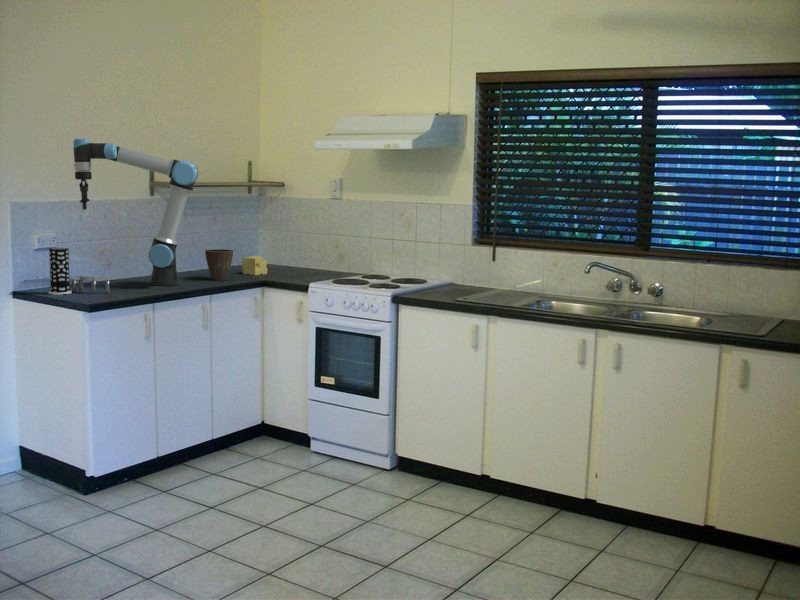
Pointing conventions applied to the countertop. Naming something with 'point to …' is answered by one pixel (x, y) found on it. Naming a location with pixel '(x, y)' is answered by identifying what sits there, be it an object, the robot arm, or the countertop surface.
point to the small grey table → (93, 279)
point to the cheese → (254, 265)
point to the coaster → (60, 293)
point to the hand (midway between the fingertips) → (85, 215)
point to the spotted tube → (59, 270)
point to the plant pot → (219, 263)
